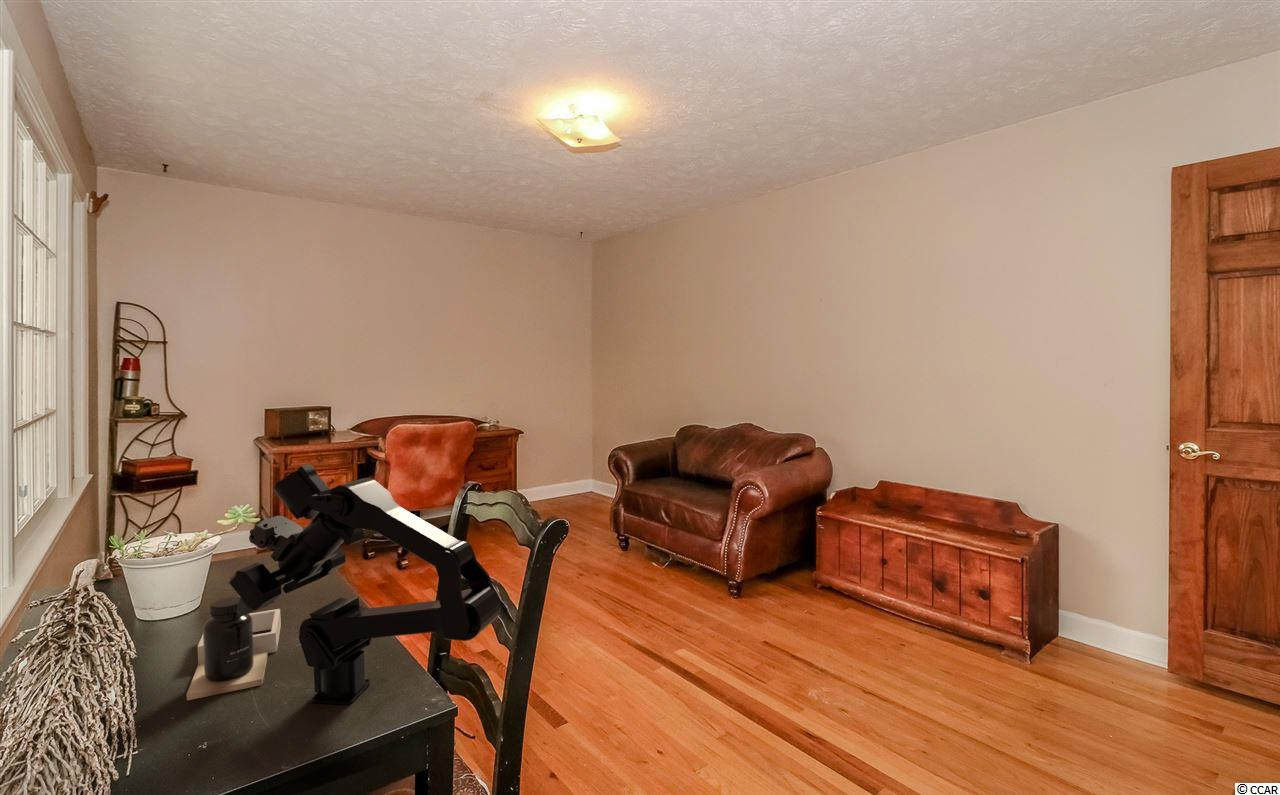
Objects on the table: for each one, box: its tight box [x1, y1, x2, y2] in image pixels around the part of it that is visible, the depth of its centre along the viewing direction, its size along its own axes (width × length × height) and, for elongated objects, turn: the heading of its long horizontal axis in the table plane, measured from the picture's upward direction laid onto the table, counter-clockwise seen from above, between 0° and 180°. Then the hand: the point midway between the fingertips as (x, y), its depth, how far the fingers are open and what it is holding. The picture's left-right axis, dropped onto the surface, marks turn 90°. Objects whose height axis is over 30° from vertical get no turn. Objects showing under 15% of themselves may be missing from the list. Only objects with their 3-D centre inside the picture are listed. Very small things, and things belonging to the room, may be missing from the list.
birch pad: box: [186, 652, 268, 701], centre depth 102 cm, size 10×10×1 cm
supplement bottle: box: [202, 595, 254, 681], centre depth 102 cm, size 7×7×12 cm
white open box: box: [197, 608, 282, 666], centre depth 114 cm, size 12×12×4 cm
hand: (262, 601), depth 100 cm, fingers open, 9 cm apart
